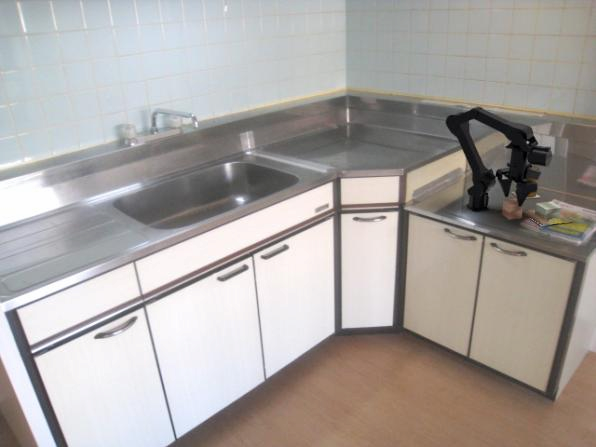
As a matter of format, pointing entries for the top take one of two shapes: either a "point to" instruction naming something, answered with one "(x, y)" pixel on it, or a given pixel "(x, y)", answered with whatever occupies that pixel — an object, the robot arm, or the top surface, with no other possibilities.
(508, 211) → the top block
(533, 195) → the condiment
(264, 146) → the top surface
